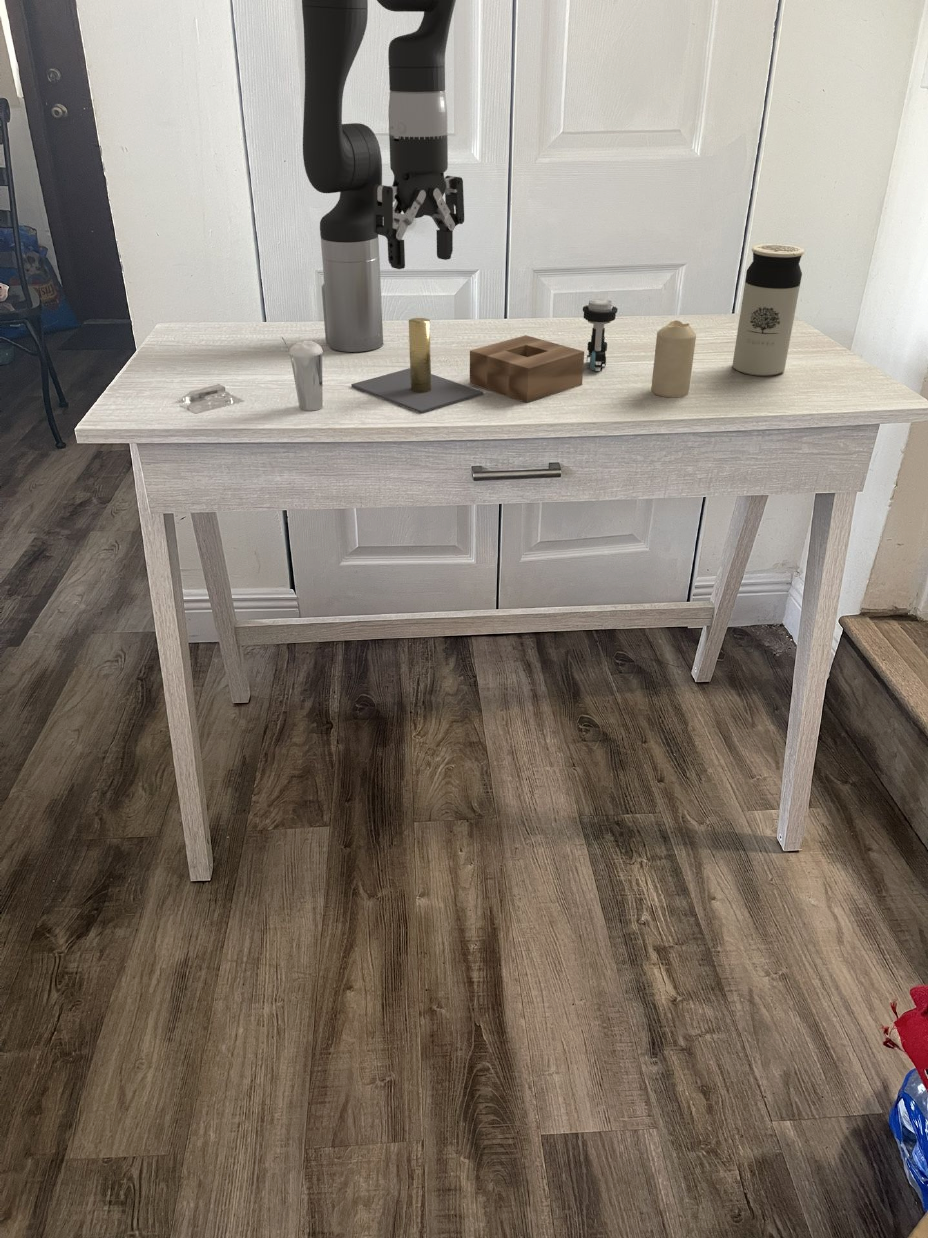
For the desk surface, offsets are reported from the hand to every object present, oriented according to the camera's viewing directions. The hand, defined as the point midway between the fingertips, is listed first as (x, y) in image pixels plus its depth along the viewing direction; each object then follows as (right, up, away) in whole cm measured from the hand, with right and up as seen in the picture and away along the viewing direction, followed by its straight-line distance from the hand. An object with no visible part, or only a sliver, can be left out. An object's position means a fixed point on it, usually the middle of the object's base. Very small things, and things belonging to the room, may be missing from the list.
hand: (421, 263), depth 130 cm
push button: (+27, -9, +20) cm, 35 cm away
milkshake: (-16, -19, +4) cm, 25 cm away
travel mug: (+52, -10, +19) cm, 56 cm away
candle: (+36, -15, +10) cm, 41 cm away
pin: (0, -15, +9) cm, 18 cm away
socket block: (+15, -13, +13) cm, 24 cm away
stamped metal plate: (-31, -18, +6) cm, 37 cm away
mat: (-1, -15, +10) cm, 18 cm away
